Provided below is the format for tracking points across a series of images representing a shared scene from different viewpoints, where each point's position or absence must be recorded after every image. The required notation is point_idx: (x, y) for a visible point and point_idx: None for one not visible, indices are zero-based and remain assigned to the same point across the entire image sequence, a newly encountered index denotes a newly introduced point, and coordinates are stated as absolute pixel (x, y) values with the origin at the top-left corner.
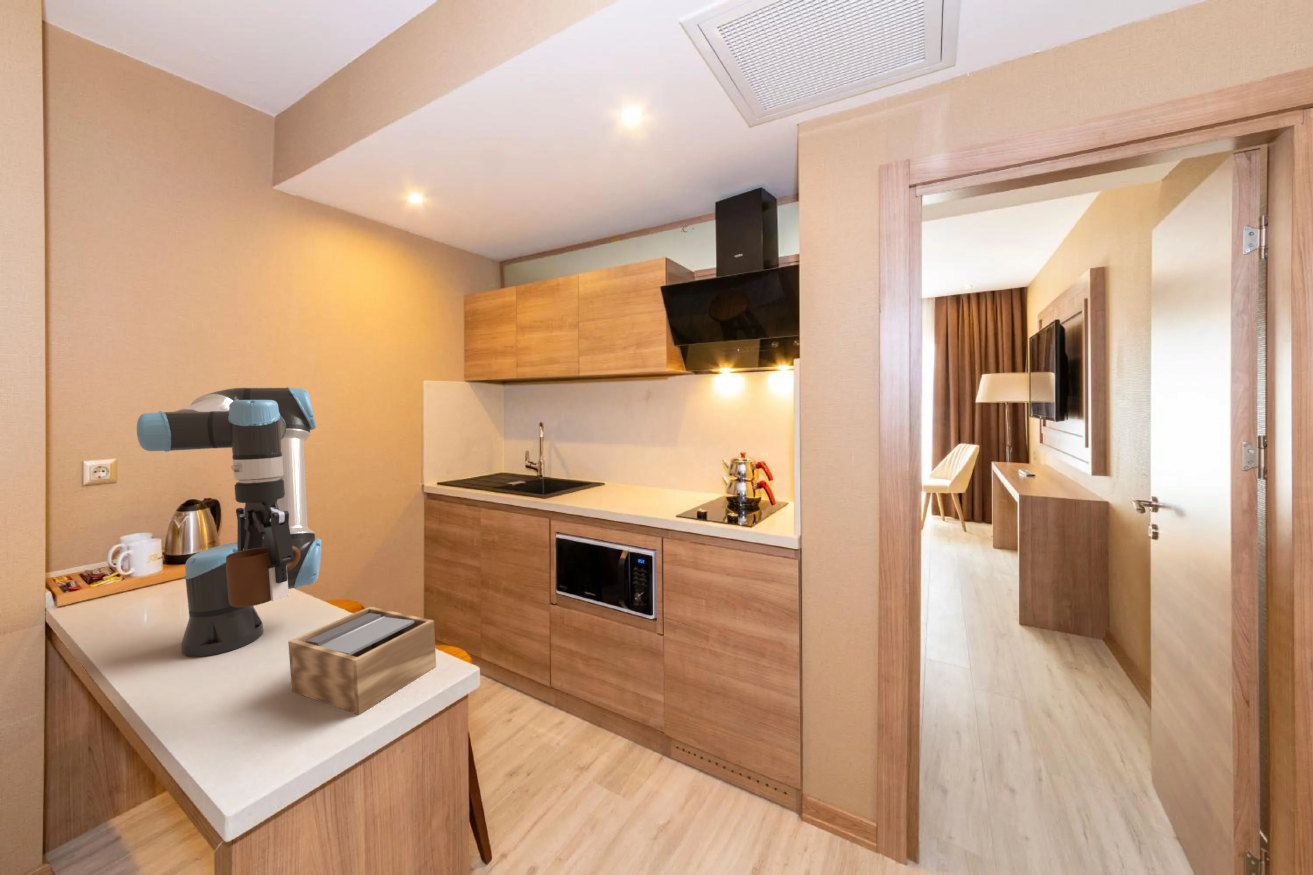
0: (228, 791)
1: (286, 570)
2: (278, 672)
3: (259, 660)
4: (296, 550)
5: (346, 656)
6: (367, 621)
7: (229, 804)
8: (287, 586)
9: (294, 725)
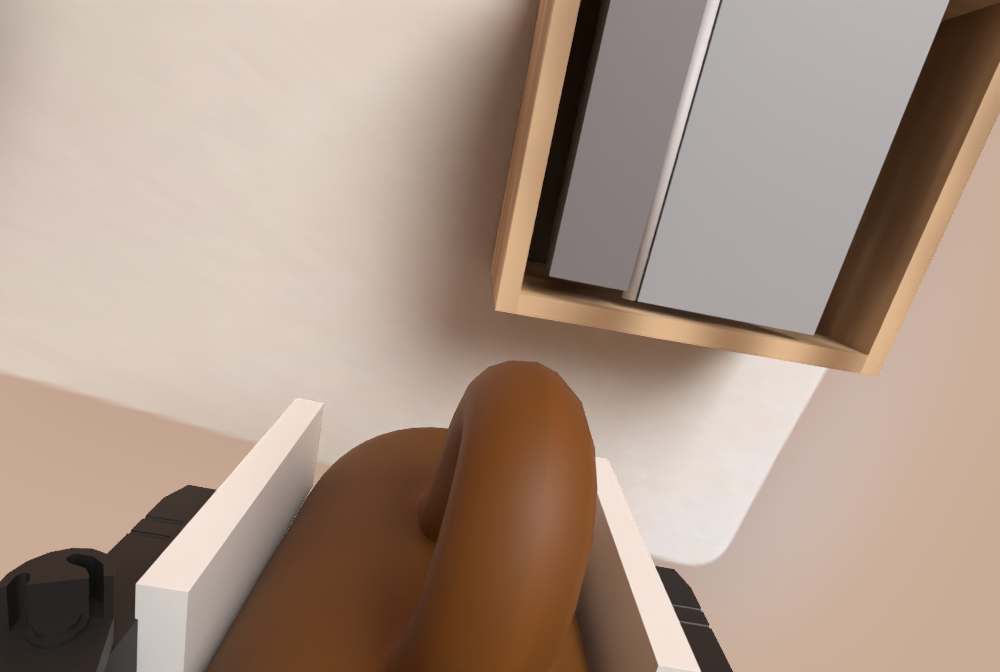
0: (667, 543)
1: (724, 656)
2: (342, 189)
3: (185, 134)
4: (595, 502)
5: (824, 360)
6: (694, 41)
7: (696, 561)
8: (623, 503)
9: (631, 384)
